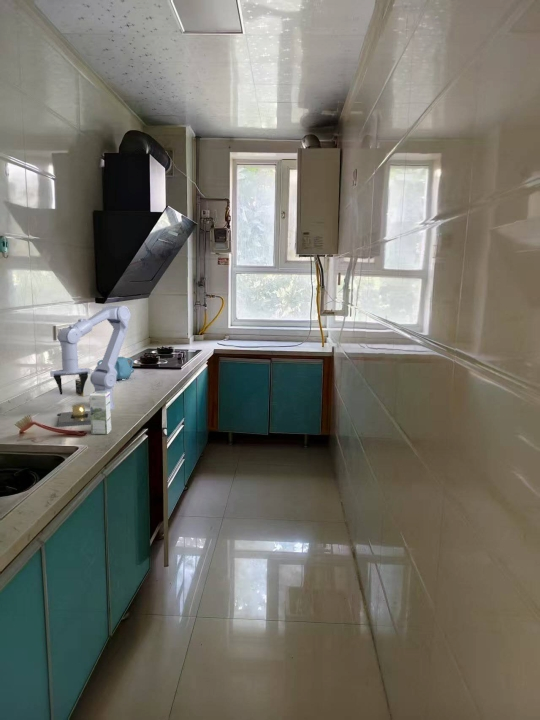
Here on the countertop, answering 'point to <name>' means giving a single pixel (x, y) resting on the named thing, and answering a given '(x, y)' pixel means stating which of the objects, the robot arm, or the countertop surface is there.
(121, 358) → the decorative pot
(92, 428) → the syrup box
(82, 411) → the hub peg
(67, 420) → the steel plate
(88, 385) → the medicine bottle
